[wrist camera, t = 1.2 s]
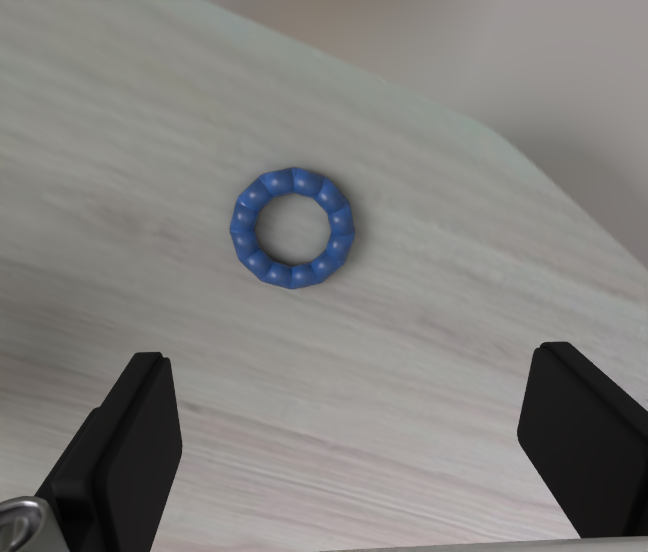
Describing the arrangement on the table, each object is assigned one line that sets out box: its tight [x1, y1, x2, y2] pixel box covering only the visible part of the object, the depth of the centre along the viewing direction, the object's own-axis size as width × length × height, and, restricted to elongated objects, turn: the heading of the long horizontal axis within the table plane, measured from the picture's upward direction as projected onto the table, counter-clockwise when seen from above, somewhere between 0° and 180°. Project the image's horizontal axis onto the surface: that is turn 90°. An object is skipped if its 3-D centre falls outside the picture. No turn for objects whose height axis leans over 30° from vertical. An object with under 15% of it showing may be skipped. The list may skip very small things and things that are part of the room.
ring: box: [230, 167, 355, 289], centre depth 26 cm, size 7×7×1 cm
